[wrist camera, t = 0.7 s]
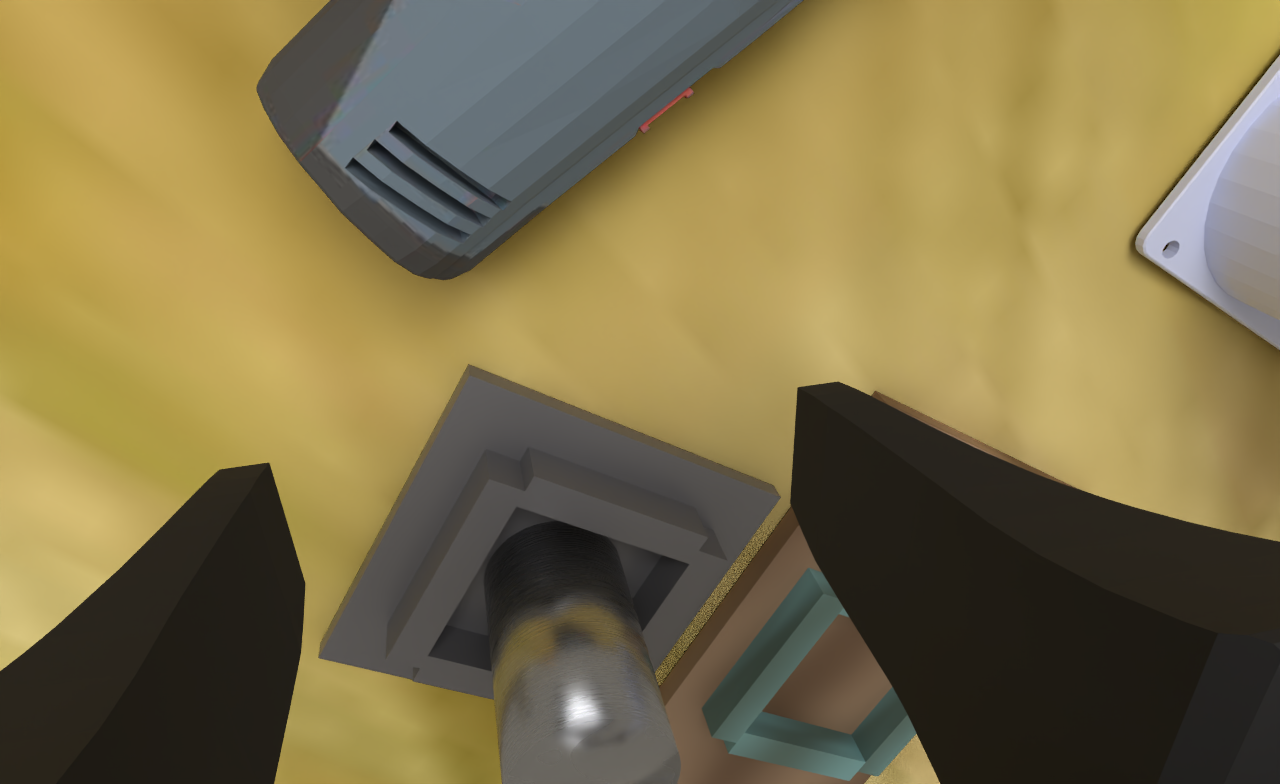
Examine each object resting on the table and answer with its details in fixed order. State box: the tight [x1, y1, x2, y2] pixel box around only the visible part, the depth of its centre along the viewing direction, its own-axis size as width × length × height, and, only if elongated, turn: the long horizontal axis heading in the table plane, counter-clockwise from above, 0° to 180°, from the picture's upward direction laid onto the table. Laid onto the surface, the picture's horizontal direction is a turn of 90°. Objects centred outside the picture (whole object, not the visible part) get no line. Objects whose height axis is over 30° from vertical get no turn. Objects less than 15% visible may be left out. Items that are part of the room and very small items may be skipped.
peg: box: [484, 521, 681, 784], centre depth 22 cm, size 4×4×7 cm
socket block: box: [319, 364, 781, 700], centre depth 25 cm, size 10×10×2 cm
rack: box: [659, 391, 1077, 784], centre depth 29 cm, size 10×18×2 cm, turn 149°
